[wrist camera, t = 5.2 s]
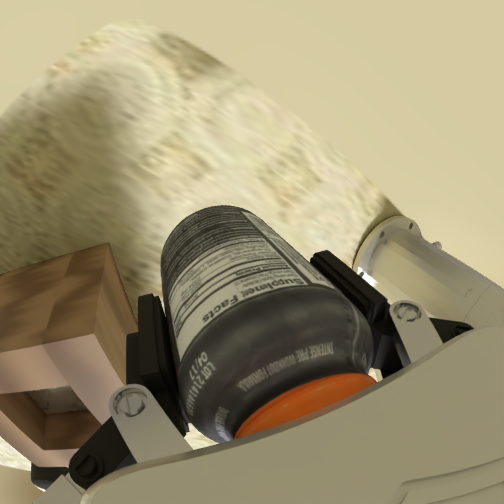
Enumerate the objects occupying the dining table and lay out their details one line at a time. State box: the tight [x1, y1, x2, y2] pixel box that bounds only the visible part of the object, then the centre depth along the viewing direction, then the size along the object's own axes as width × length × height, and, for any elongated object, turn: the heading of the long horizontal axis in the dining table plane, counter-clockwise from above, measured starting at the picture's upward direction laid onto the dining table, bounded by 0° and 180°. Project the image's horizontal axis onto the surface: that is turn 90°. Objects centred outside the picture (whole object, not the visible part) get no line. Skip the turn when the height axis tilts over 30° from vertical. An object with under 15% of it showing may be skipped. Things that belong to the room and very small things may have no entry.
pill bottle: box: [161, 205, 377, 443], centre depth 10 cm, size 6×6×11 cm
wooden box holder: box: [0, 243, 138, 467], centre depth 20 cm, size 15×15×12 cm
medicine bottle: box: [31, 462, 69, 492], centre depth 24 cm, size 7×7×12 cm
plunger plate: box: [27, 385, 88, 414], centre depth 19 cm, size 7×7×1 cm
